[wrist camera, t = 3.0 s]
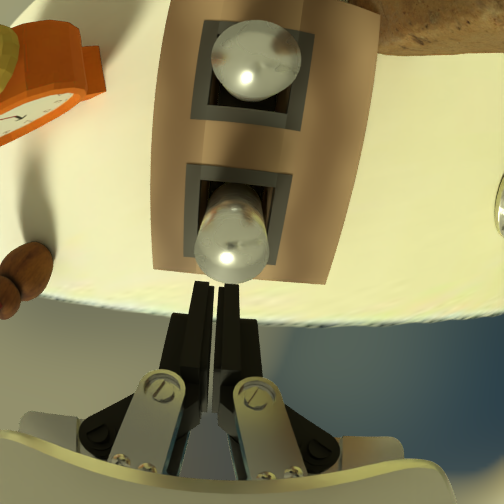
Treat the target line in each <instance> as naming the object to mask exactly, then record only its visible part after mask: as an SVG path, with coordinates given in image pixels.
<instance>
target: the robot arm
mask: <svg viewBox="0 0 504 504" xmlns="http://www.w3.org/2000/svg"><path fill="white" fill-rule="evenodd" d="M495 223H496V228H497V230H498V232H499V234H500V235H501V236H503V237H504V177H503V179H502V182H501V184H500V187H499V191H498V194H497V199H496V206H495ZM213 301H214V286H209V282H202V281H195V283H194V288H193V293H192V298H191V303H190V308H189V314H181V313H172V315H171V319H170V323H169V327H168V331H167V335H166V340H165V344H164V348H163V353H162V358H161V362H160V367H159V370H153V371H151V372H148V373H147V374H146V375H144V376H143V377H142V379H141V380H140V382H139V385H138V387H137V389H136V391H135V393H133V394H132V395H130V396H128V397H127V398H124V399H122V400H121V401H119V402H117V403H115V404H113V405H111V406H109V407H107V408H105V409H103V410H101V411H100V412H98V413H96V414H94V415H92V416H90V417H88V418H87V419H78V417H74V416H64V415H56V414H48V413H42V412H35V411H30V412H27V413H25V414H24V415H23V416H22V418H21V420H20V423H19V431H12V430H0V504H457V501H456V498H455V495H454V492H453V489H452V486H451V484H450V482H449V480H448V478H447V476H446V474H445V472H444V471H443V470H442V468H441V467H439V466H438V465H437V464H435V463H434V462H431V461H427V460H423V459H404V451H403V447H402V444H401V443H400V442H399V440H397V439H395V438H393V437H355V436H342V438H335V437H332V435H330V434H329V433H327V432H325V431H324V430H322V429H321V428H319V427H318V426H316V425H315V424H313V423H312V422H310V421H308V420H307V419H305V418H304V417H303V416H301V415H299V414H298V413H297V412H295V411H294V410H292V409H291V408H290V407H288V406H287V405H285V404H284V402H283V399H282V396H281V393H280V391H279V389H278V387H277V386H276V385H275V384H274V383H273V382H271V381H270V380H268V379H266V378H263V375H262V365H261V355H260V344H259V334H258V324H257V320H256V319H241V318H240V309H239V285H238V284H226V283H225V285H224V287H219V292H218V306H217V320H216V336H215V353H214V372H213V373H214V374H213V396H212V397H213V398H212V413H218V426H220V427H221V428H222V429H223V430H224V431H225V432H226V433H227V438H228V443H229V448H230V453H231V458H232V463H233V468H234V472H235V476H236V481H230V480H208V479H195V478H184V477H179V475H180V472H181V468H182V464H183V459H184V455H185V452H186V448H187V444H188V440H189V436H190V431H191V429H193V428H194V427H196V426H197V425H199V424H200V419H201V412H207V404H208V386H209V385H208V384H209V369H210V353H211V338H212V320H213Z"/></svg>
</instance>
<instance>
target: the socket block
mask: <svg viewBox="0 0 504 504" xmlns="http://www.w3.org/2000/svg"><path fill="white" fill-rule="evenodd" d="M380 16H381V15H379V14H376V13H374V12H371V11H369V10H366V9H363V8H360V7H358V6H355V5H352V4H349V3H346V2H343V1H339V0H171V2H170V6H169V11H168V15H167V20H166V25H165V31H164V36H163V42H162V48H161V54H160V61H159V68H158V75H157V83H156V92H155V102H154V114H153V128H152V145H151V182H150V200H151V237H152V255H153V269H158V270H167V271H176V272H185V273H195V274H205V273H204V272H203V271H202V270H201V269H200V267H199V266H198V264H197V262H196V259H195V254H194V247H195V242H196V239H197V236H198V233H199V230H200V227H201V224H202V221H203V218H204V215H205V212H206V209H207V206H208V199H209V186H210V181H221V182H231V183H241V184H250V185H259V186H264V188H263V194H262V201H261V207H262V212H263V218H264V223H265V228H266V234H267V240H268V245H269V258H268V262H267V264H266V266H265V268H264V269H263V270H262V272H261V273H260V274H258V275H257V276H256V277H255V278H253V279H259V280H271V281H283V282H296V283H310V284H324V285H325V283H326V280H327V277H328V274H329V271H330V268H331V265H332V262H333V258H334V255H335V252H336V249H337V245H338V242H339V238H340V235H341V231H342V228H343V224H344V221H345V217H346V213H347V210H348V206H349V202H350V198H351V194H352V190H353V186H354V182H355V178H356V173H357V169H358V165H359V160H360V156H361V151H362V146H363V141H364V136H365V131H366V126H367V120H368V115H369V109H370V103H371V97H372V90H373V84H374V76H375V69H376V61H377V52H378V42H379V30H380ZM248 20H263V21H268V22H271V23H274V24H277V25H279V26H281V27H282V28H284V29H285V30H286V31H288V32H289V33H290V34H291V35H292V36H293V38H294V39H295V40H296V42H297V44H298V46H299V49H300V53H301V66H300V70H299V72H298V75H297V76H296V78H295V79H294V81H293V82H292V83H291V84H290V85H289V86H288V87H287V88H285V89H284V90H282V91H280V92H279V93H278V94H277V101H276V108H275V112H271V111H264V110H256V109H248V108H239V107H228V106H218V99H219V91H220V84H221V82H220V81H219V79H218V78H217V76H216V75H215V73H214V70H213V67H212V63H211V53H212V49H213V46H214V44H215V42H216V40H217V38H218V37H219V36H220V35H221V34H222V33H223V32H224V31H225V30H226V29H228V28H229V27H231V26H233V25H235V24H237V23H240V22H243V21H248ZM205 275H206V274H205Z"/></svg>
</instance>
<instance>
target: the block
mask: <svg viewBox="0 0 504 504" xmlns="http://www.w3.org/2000/svg"><path fill="white" fill-rule="evenodd" d="M348 2H349V4H352V5H355V6H358V7H360V8H363V9H366V10H369V11H371V12H374V13H376V14H379V15H381V16H380V30H379V42H378V52H377V53H380V54H384V55H395V56H426V55H456V54H465V53H504V0H348Z"/></svg>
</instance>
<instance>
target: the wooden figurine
mask: <svg viewBox="0 0 504 504" xmlns="http://www.w3.org/2000/svg"><path fill="white" fill-rule="evenodd" d="M52 270H53V260H52V256H51V253H50V252H49V250H48V249H47V248H46V247H45V246H44V245H42V244H40V243H38V242H30V243H26V244H23V245H21V246H19V247H18V248H16V249H14V250H13V251H11V252H10V253H9V254H8V255H7V256H6V257H5V258H4V259H3V261H2V263H1V265H0V319H2V320H5V319H9V318H10V317H12V316H13V315H14V314H15V313H16V312H17V310H18V309H19V307H20V303H21V301H29V300H31V299H34V298H36V297H37V296H38V295H40V294H41V293H42V292H43V290H44V289H45V288H46V286H47V284H48V282H49V279H50V277H51V273H52Z"/></svg>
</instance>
